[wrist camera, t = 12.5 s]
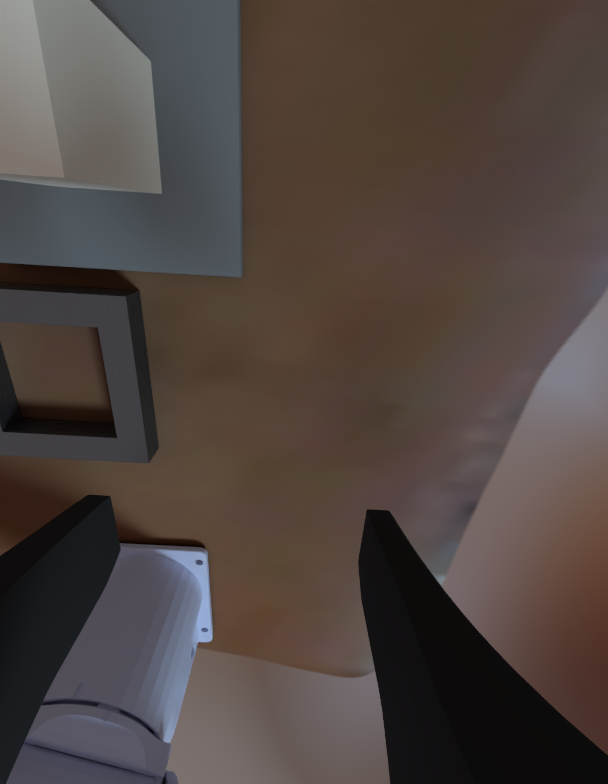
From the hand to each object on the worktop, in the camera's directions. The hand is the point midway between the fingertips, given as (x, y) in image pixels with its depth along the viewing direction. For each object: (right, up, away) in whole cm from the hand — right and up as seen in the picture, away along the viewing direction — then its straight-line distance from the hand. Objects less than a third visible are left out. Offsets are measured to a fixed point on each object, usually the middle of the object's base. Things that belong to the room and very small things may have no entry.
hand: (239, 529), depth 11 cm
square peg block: (-6, +14, +4) cm, 16 cm away
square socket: (-11, +5, +9) cm, 15 cm away
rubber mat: (-6, +15, +5) cm, 17 cm away
